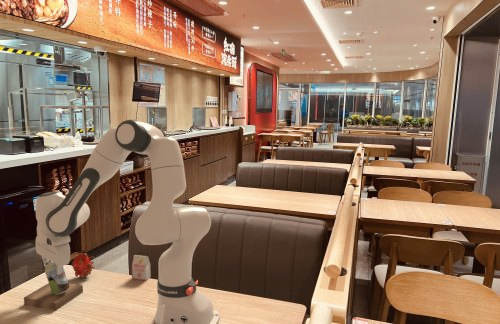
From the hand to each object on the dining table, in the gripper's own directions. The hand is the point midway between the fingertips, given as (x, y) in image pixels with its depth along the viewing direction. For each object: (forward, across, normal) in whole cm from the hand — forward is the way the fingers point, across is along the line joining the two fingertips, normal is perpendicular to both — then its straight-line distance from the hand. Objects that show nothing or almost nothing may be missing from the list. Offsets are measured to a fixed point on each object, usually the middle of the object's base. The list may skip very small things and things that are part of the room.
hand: (53, 270), depth 139 cm
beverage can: (+8, +3, +1) cm, 9 cm away
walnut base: (+12, 0, 0) cm, 12 cm away
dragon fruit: (+12, -8, +16) cm, 21 cm away
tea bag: (+12, +11, +32) cm, 35 cm away
